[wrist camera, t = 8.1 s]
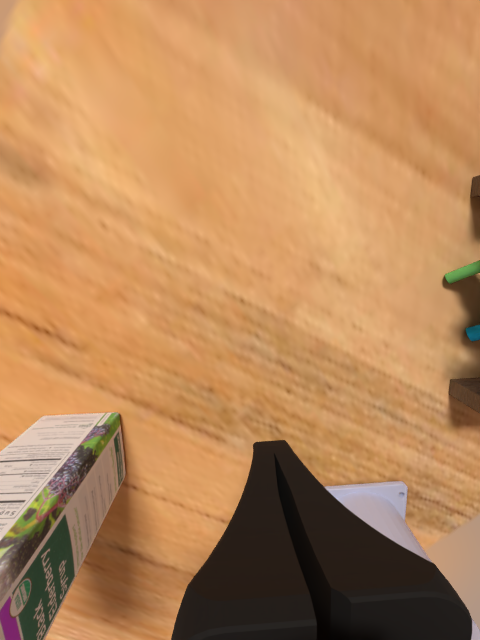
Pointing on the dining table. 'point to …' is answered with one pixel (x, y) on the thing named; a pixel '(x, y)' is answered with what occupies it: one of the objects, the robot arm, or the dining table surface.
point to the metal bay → (468, 390)
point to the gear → (475, 331)
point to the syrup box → (52, 513)
